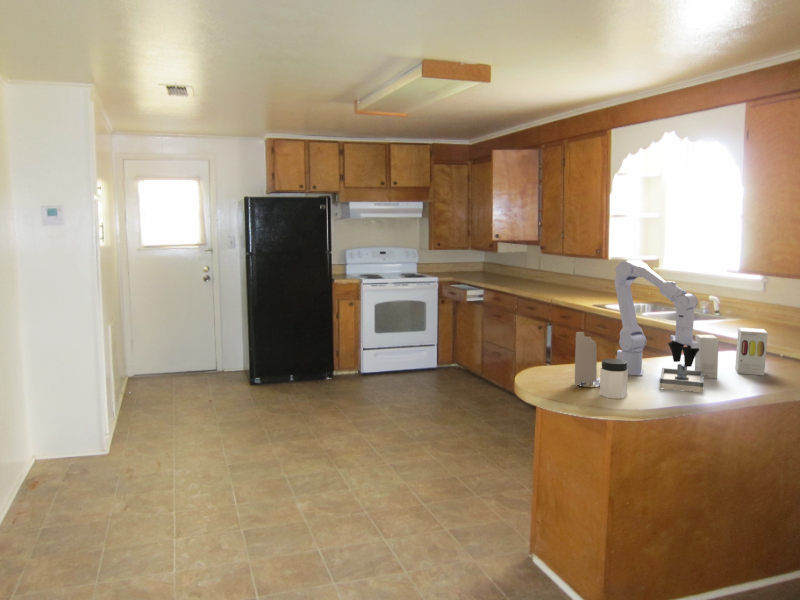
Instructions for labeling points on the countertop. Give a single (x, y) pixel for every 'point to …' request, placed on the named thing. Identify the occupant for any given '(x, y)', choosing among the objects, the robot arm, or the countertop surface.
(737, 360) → the supplement box
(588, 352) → the beige stepped upright panel
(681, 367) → the peg
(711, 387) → the countertop surface
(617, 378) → the jar
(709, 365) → the skincare box
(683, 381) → the tray
